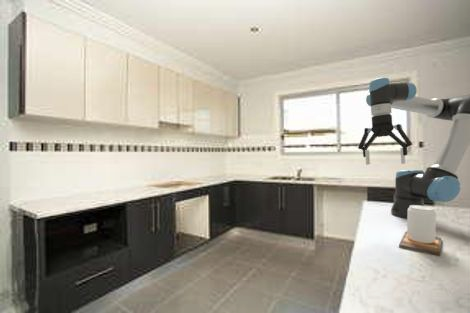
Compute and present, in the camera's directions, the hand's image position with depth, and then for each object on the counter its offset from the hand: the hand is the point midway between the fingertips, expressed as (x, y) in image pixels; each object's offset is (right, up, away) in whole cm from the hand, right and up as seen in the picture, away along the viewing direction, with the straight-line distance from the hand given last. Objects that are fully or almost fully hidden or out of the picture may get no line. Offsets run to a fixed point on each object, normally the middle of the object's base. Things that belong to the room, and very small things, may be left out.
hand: (384, 164), depth 108 cm
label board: (+2, -28, -19) cm, 34 cm away
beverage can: (+2, -27, -18) cm, 33 cm away
